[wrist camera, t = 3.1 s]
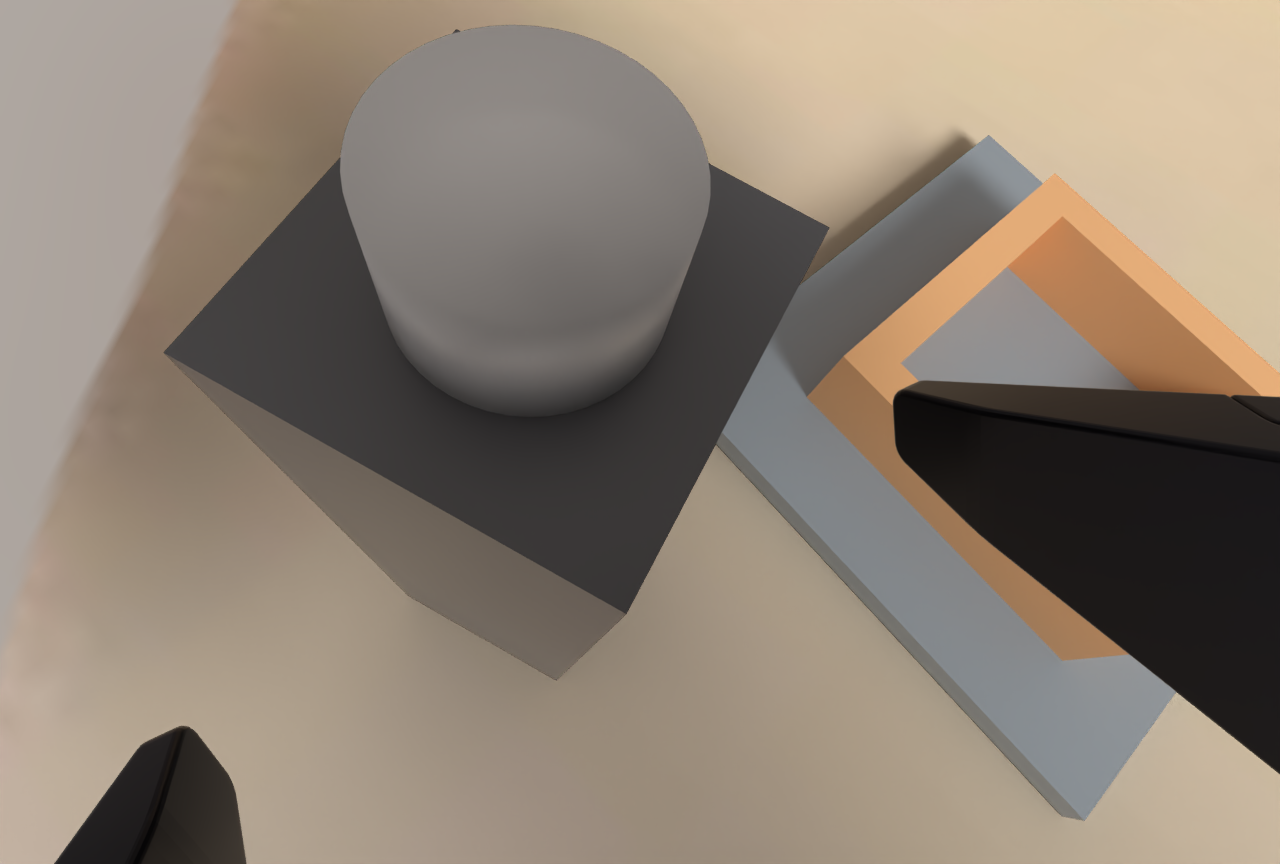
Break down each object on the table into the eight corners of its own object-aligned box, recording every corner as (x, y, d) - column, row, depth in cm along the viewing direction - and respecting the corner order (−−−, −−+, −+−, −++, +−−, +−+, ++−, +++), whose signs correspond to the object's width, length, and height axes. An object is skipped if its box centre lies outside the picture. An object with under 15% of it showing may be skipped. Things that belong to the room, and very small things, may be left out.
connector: (556, 680, 18) (660, 581, 4) (408, 595, 18) (46, 237, 4) (636, 533, 19) (904, 107, 6) (498, 456, 19) (440, -134, 6)
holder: (1061, 816, 18) (1170, 837, 15) (670, 395, 21) (696, 339, 17) (1317, 462, 23) (1440, 424, 20) (975, 152, 25) (1037, 74, 22)
